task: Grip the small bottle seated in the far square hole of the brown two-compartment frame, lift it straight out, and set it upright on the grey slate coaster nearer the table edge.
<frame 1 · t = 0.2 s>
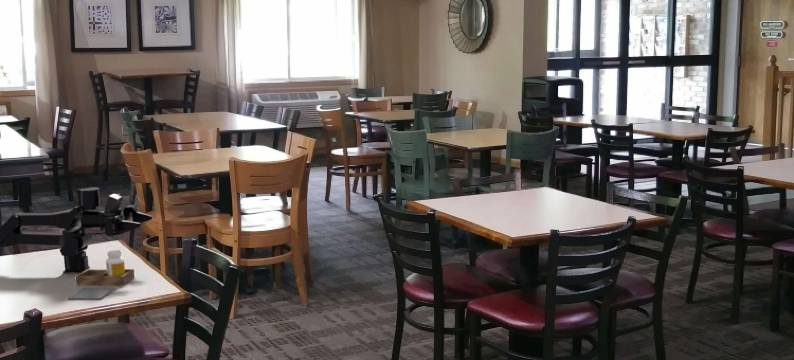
hand: (146, 221, 278), 17 cm above the table, tool horizontal, fingers open, 9 cm apart
coaster: (92, 294, 258), on the table
brown two-compartment frame: (105, 281, 270), on the table
supplement bottle: (116, 282, 270), resting in brown two-compartment frame
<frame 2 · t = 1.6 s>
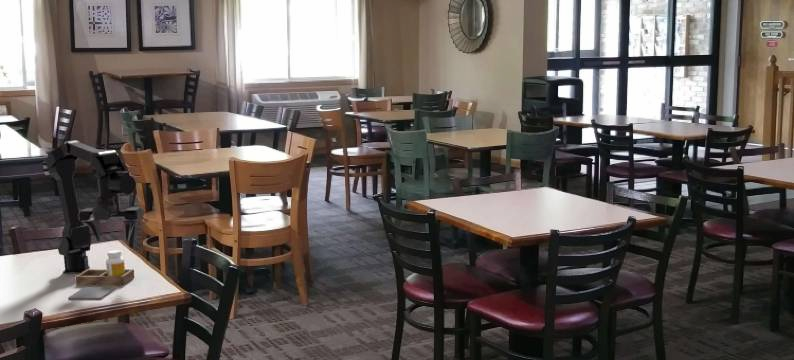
hand: (113, 241, 268), 13 cm above the table, tool pointing down, fingers open, 9 cm apart
nothing on the table moved.
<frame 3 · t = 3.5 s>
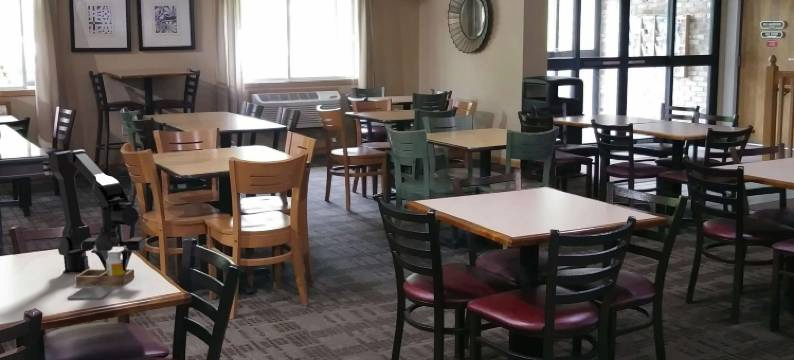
hand: (115, 270, 270), 4 cm above the table, tool pointing down, fingers closed on supplement bottle, 5 cm apart
supplement bottle: (116, 282, 270), resting in brown two-compartment frame, touching gripper
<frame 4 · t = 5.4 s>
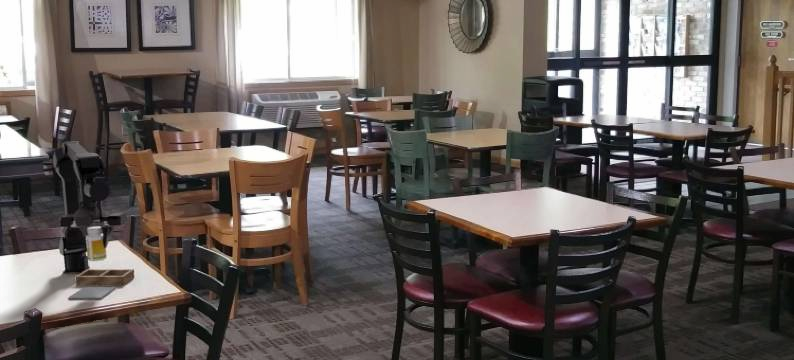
hand: (96, 247, 258), 13 cm above the table, tool pointing down, fingers closed on supplement bottle, 5 cm apart
supplement bottle: (97, 260, 259), point 10 cm above the table, touching gripper
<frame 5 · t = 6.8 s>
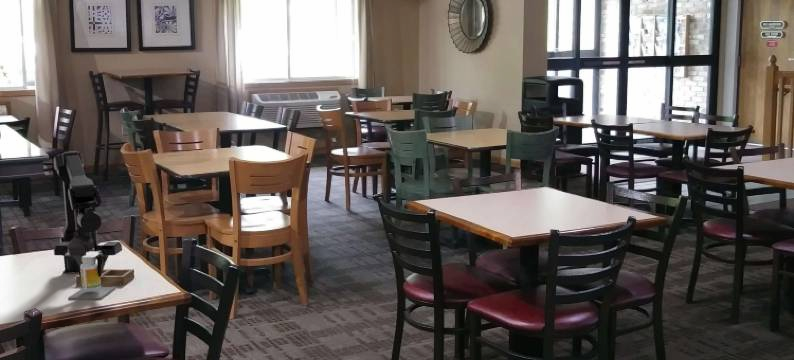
hand: (90, 276, 257), 5 cm above the table, tool pointing down, fingers closed on supplement bottle, 5 cm apart
supplement bottle: (91, 288, 257), point 2 cm above the table, touching gripper
when the fingers open (5 cm above the table, at t = 7.6 s): supplement bottle drops 1 cm, resting on coaster.
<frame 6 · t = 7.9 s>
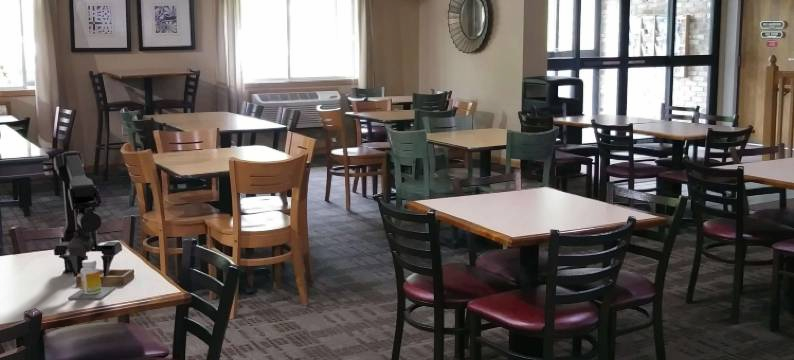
hand: (90, 276, 257), 5 cm above the table, tool pointing down, fingers open, 9 cm apart
supplement bottle: (92, 292, 258), resting on coaster
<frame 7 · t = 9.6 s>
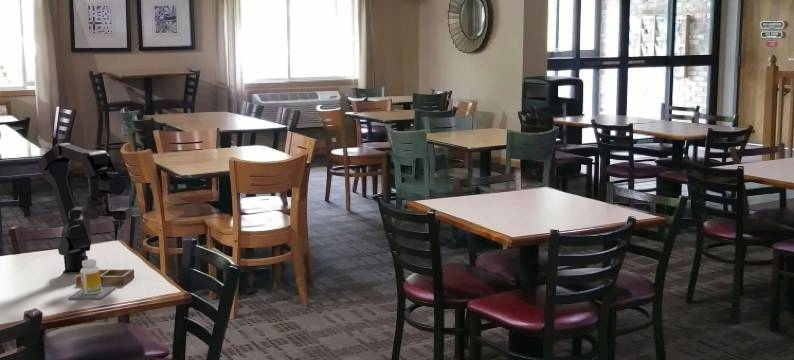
hand: (102, 240, 271), 13 cm above the table, tool pointing down, fingers open, 9 cm apart
nothing on the table moved.
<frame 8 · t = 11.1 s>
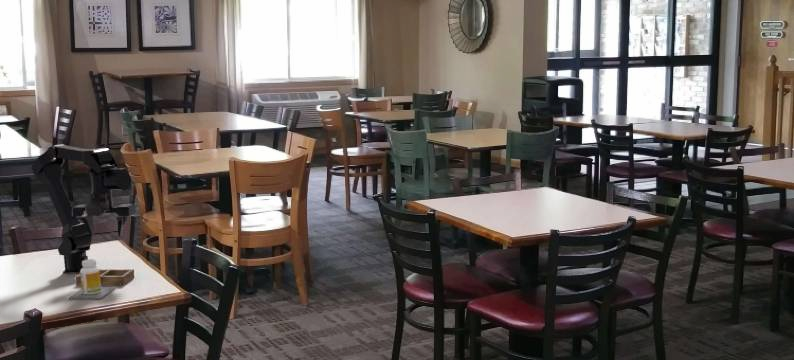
hand: (106, 236, 274), 13 cm above the table, tool pointing down, fingers open, 9 cm apart
nothing on the table moved.
at the end: supplement bottle inside the target area on the coaster (0.1 cm from its centre), point 0.4 cm above the coaster's base; supplement bottle tilted 0°; the gripper is holding nothing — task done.
